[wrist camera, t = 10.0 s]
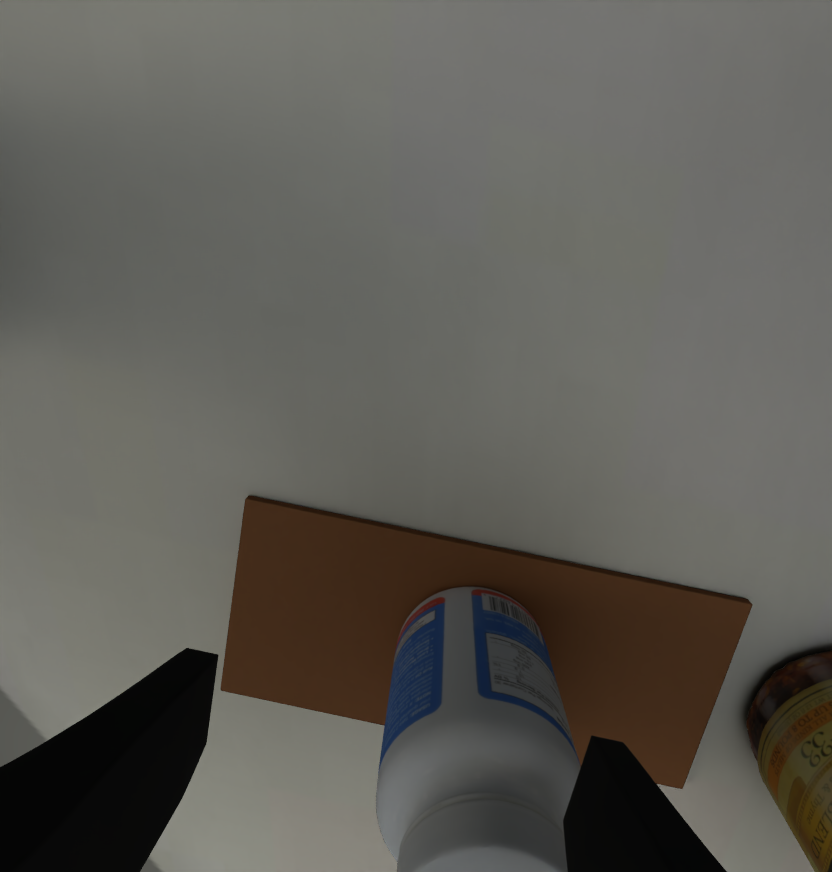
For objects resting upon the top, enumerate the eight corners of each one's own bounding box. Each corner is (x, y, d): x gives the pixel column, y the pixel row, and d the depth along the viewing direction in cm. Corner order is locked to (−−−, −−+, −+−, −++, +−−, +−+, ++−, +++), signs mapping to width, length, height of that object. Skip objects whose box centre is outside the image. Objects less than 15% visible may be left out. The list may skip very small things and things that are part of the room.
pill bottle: (416, 722, 23) (387, 1032, 13) (381, 596, 22) (322, 839, 12) (560, 699, 22) (637, 1008, 13) (532, 568, 21) (595, 802, 11)
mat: (223, 684, 23) (220, 690, 23) (248, 494, 21) (244, 498, 21) (679, 781, 23) (682, 789, 23) (747, 598, 21) (753, 604, 21)
